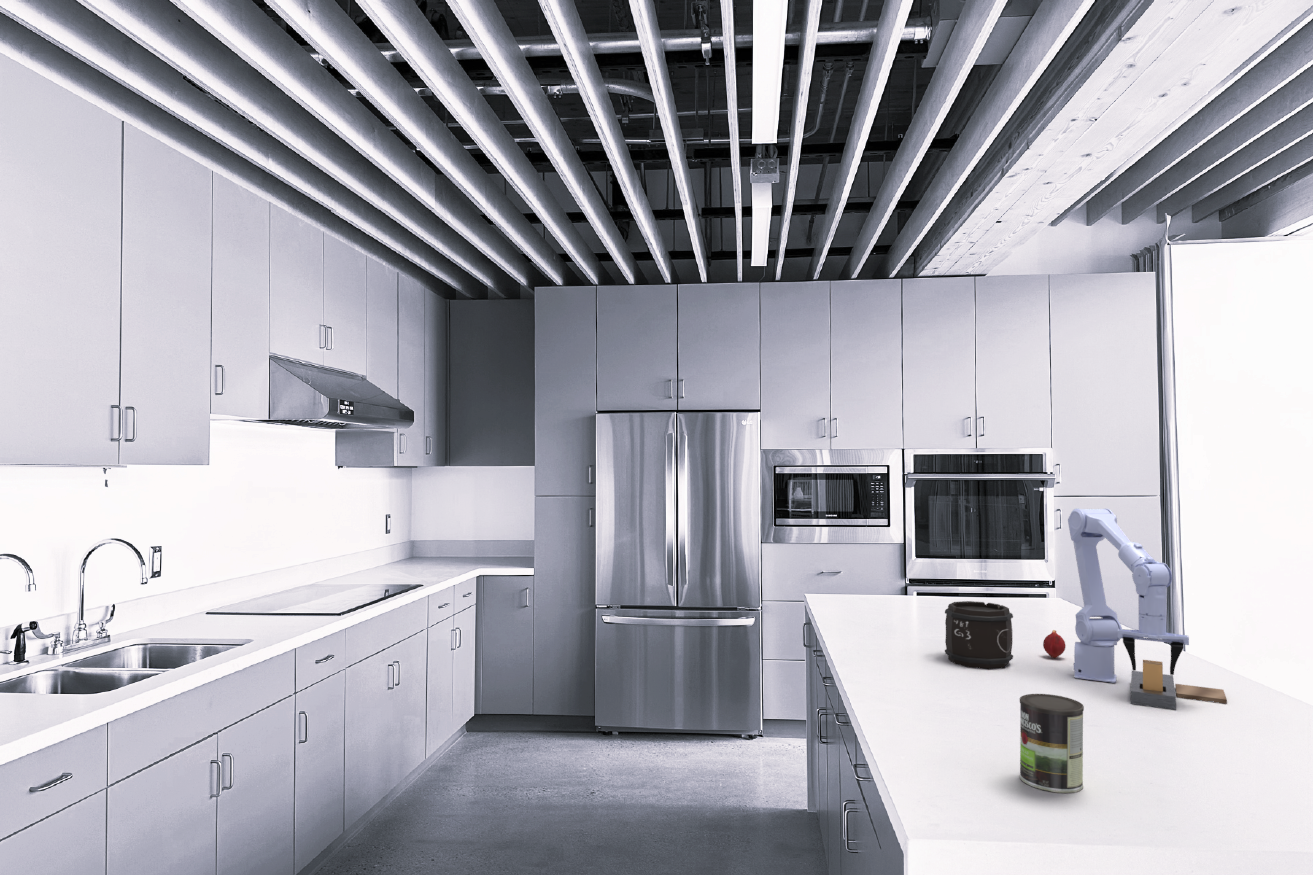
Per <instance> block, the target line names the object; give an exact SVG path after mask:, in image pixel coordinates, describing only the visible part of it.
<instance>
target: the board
mask: <svg viewBox="0 0 1313 875" xmlns="http://www.w3.org/2000/svg"><path fill="white" fill-rule="evenodd" d="M1174 687H1175V694H1176V699H1177V698H1179V699H1186V700H1193V699H1196V700H1195V701H1200V700H1202V702H1208V701H1214V702H1213V703H1216V702H1219V703H1218V704H1225V705H1227V704H1228V699H1227V696H1226V693H1225V690H1224V689H1222V688H1214V687H1205V686H1198V685H1197V686H1196V685H1190V684H1189V685H1188V684H1181V683H1174Z"/></svg>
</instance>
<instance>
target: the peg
mask: <svg viewBox="0 0 1313 875" xmlns="http://www.w3.org/2000/svg"><path fill="white" fill-rule="evenodd" d="M1163 667H1164V666H1163V661H1158V660H1149V659H1142V672H1143V689H1146V690H1154V691H1162V692H1163V674H1164V671H1163V669H1164V668H1163Z"/></svg>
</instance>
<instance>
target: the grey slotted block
mask: <svg viewBox="0 0 1313 875" xmlns="http://www.w3.org/2000/svg"><path fill="white" fill-rule="evenodd" d="M1130 679H1131V680H1130V705H1137V706H1143V707H1151V708H1159V709H1165V710H1174V711H1176V710H1177V696H1176V689H1175V680H1174V675H1170V674H1164V673H1163V692H1162V691H1154V690H1146V689H1143V671H1138V670H1136V671H1134V670H1131V678H1130Z"/></svg>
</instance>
